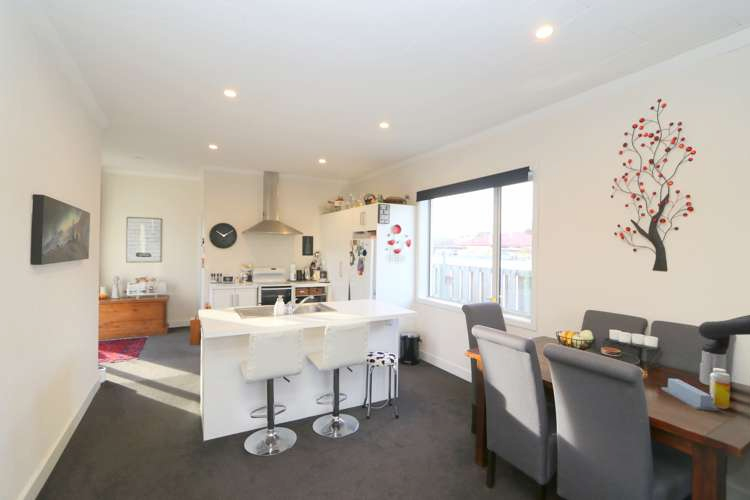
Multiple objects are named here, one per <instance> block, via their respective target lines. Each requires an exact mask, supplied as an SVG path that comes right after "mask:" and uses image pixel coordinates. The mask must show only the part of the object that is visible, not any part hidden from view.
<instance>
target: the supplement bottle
mask: <svg viewBox="0 0 750 500" xmlns="http://www.w3.org/2000/svg"><path fill="white" fill-rule="evenodd" d="M714 371H717V372H723V373H727V370H726V369H725V370H724V369H720V368H713V372H714ZM711 381H712V373H711V374H710V386H709V395H711Z"/></svg>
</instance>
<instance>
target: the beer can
mask: <svg viewBox="0 0 750 500" xmlns="http://www.w3.org/2000/svg"><path fill="white" fill-rule="evenodd" d="M730 392H731V376H730V374H728V373H727V372H726V373H723V372H717V371H714V372H713V373H712V381H711V394H710V395H711V396H712V399H711V405H713V406H715V407H717V408H719V409H723V410H726V409H729V408H730V395H731V394H730Z"/></svg>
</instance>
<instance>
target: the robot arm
mask: <svg viewBox="0 0 750 500" xmlns="http://www.w3.org/2000/svg"><path fill="white" fill-rule="evenodd" d="M698 333H699V334H700V335H701V336H702V337H703V338H705V339H707V341H706V342H705V343H704V344H702V346H701V347H702V348H701V362H700V363H699V382H700V383H701V384H703V385H706V386H708V387H710V374H711V373H713V368H720V369H724V370H726V367H727V365H726V364H727V351H728V349H729V347H730V337H731V336H736V335H737V336H743V335H744V336H746V335H747V336H749V335H750V314H748V315H743V316H737V317H734V318H731V319H726V320H718V321H715V320H714V321H705V322H703V323H700V325H699V326H698Z"/></svg>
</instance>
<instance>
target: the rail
mask: <svg viewBox="0 0 750 500" xmlns="http://www.w3.org/2000/svg"><path fill="white" fill-rule="evenodd" d="M661 391H664V392H665V393H668V394H669V395H670V396H673V397H674V398H676V399H678V400H680V401H681V402H683V403H684V404H687V406H689V407H692V408H694V409H696V410H702V411H718V412H719V409H720V408H718V407H715V406H713V405H712V403H711V399H712V396H711V394H710V393H707V392H704V391H703V390H701V389H698V387H697V388H696V387H695V386H692V385H691V384H689V383H687V382H685V381H683V380H681V379H679V378H667V386H666V387H663V386H661Z"/></svg>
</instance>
